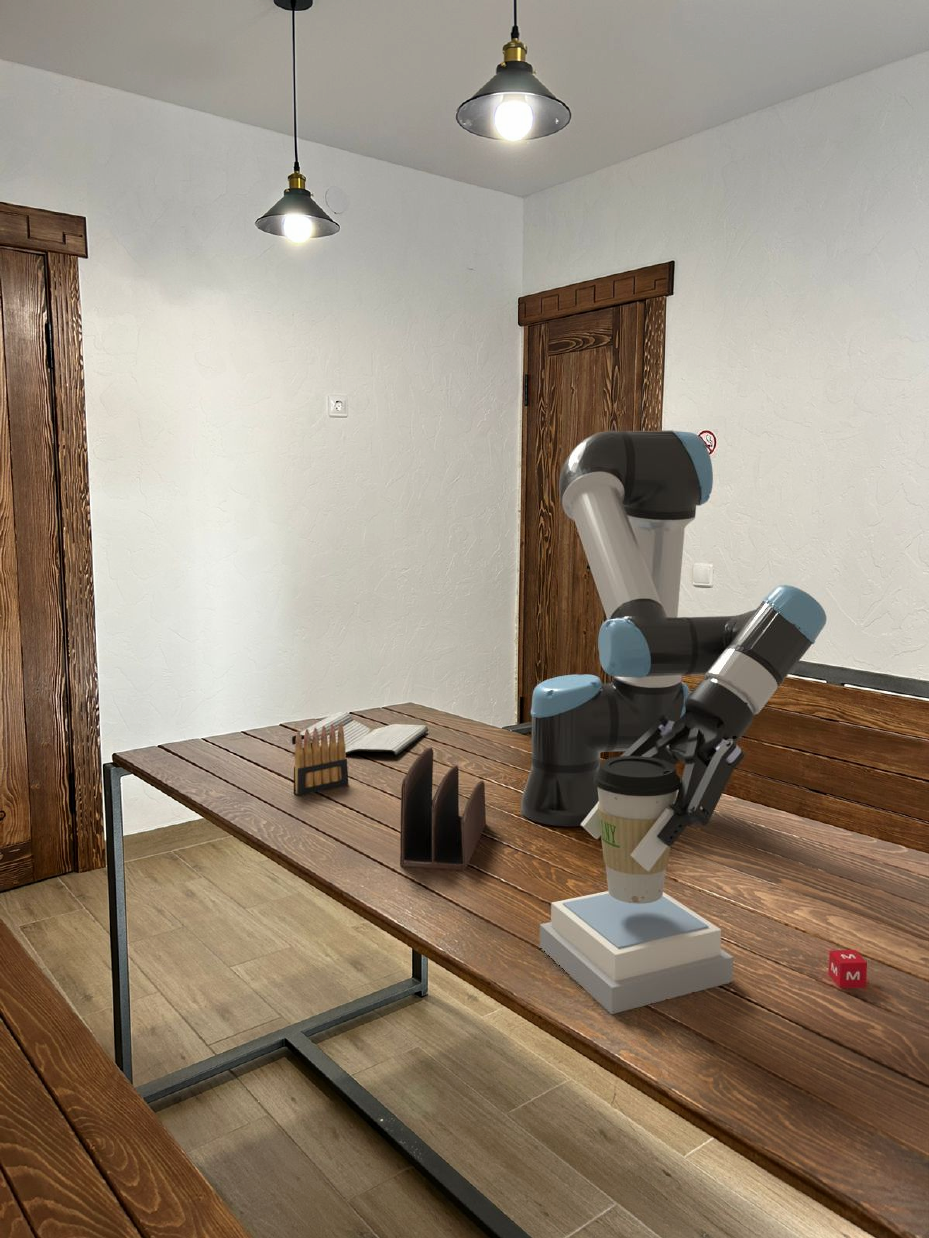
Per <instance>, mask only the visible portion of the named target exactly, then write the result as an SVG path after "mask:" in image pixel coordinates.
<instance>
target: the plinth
mask: <svg viewBox="0 0 929 1238" xmlns="http://www.w3.org/2000/svg"><path fill="white" fill-rule="evenodd" d="M550 918H551V919H550V921H549V922H544V923H540V924H539V948H542V949H541V951H542V952H544V951H545V952H544V954H546V955H547V956H548V955H549V956H550V957H549V956H548V957H549V958H550V959H551V958H552V959H553V960H554V961H555V962H554V961H553V960H552V959H551V960H552V961H553V962H554V963H556V965H557V966H559V965H560V966H559V967H560V968H561V969H562V968H563V969H564V970H565V971H564V970H563V969H562V970H563V971H564V972H565V973H566V972H567V973H568V974H569V976H570V978H571V979H572V980H574V981H575V980H576V981H575V982H576V983H577V982H578V983H577V984H578V985H579V986H580V985H581V986H582V987H583V988H582V987H581V986H580V987H581V988H582V989H583V990H585V991H586V992H587V993H588V994H589V995H590V996H591V997H592V998H593V999H595V1001H596V1002H597V1003H598V1004H600V1005H601V1006H602V1007H603V1008H604V1010H606V1011H607V1012H608V1013H609V1014H610V1015H614V1014H619V1013H622V1012H626V1011H629V1010H633V1009H636V1008H641V1007H644V1006H649V1005H651V1003H652V1004H655V1003H660V1002H663V1001H667V1000H670V999H674V998H677V997H678V996H679V997H681V996H682V997H683V996H685V995H689V994H693V993H692V992H694V993H696V992H700V991H701V992H702V991H704V990H708V989H713V988H717V987H720V986H723V984H724V985H726V984H730V982H731V983H733V981H734V980H733V978H734V977H733V976H734V971H733V970H734V956H732V955H731V954H730V953H728V952H726V951H725V950H724V949H723V948H722V929H721V928H719V927H718V926H716V925H715V924H713V923H712V922H710V921H708V920H707V919H706V918H704V917H702V916H701V915H699V914H698V913H697V912H695V911H693V910H691V908H689V907H687V906H686V905H684V904H682V903H681V902H680V901H678V900H676V898H673V896H671V895H669V894H667V893H666V892H664V891H663V895H662V897H661V898H660V899H659V900H657V901H655V902H651V903H645V904H635V903H627V902H623V901H620V900H617V899H615V898H613V897H612V896H611V895H610V894H609V892H608V890H607V891H602V892H597V893H593V894H592V893H591V894H587V895H583V896H578V897H577V896H576V897H573V898H568V899H563V900H559V901H552V902H551V904H550ZM567 973H566V974H567ZM568 974H567V975H568ZM666 999H667V1000H666Z"/></svg>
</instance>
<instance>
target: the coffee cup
mask: <svg viewBox="0 0 929 1238" xmlns="http://www.w3.org/2000/svg"><path fill="white" fill-rule="evenodd" d="M593 782H594V784H595V785H596V786H597V787H598V796H599V804H598V811H599V820H600V829H601V836H600V838H601V847H602V856H603V857H602V858H603V863H604V865H605V871H606V882H607V891H608V892H609V894H610V895H611V896H612V897H613V898H615V899H617V900H620V901H623V902H627V903H635V904H645V903H651V902H655V901H657V900H659V899H660V898H661V897H662V895H663V892H664V886H665V880H666V874H667V873H666V872H667V868H668V866H669V860H670V853H671V848H672V845H671V846H670V847H669V846H668V847H667V848H666V849H665V851H664V852H663V853H662V855H661V856H660V857H659V859H658V860H657V861H656V863H655V864H654V865H653V866H652V868H651V869H650V870H649V871H647V870H645V869H644V868H643V867H642V866H641V865H640V864H639V863H638V862H637V861H636V860H635V859H634V858H633V857H632V856H631V853H632V852H633V851H634V850H635V848H636V847H637V846H638V844H639V843H640V842H641V840H642V839H643V838H644V837H645V835H646V834H647V833H648V831H649V830H650V829H651V827H652V826H653V825H654V824H655V822H656V821H657V820H658V818H659V817H660V816H661V814H662V813H663V812H664V811H665V809H666V808H667V809H669V810H671V811H672V812H673V813H675V812H674V811H673V810H672V809H671V808H670V804H671V805H672V804H675V801H676V798H677V794H678V790H679V787H680V783H681V778H680V776H679V775H678V774H677V769H676V766H675V765H673V764H671V763H670V762H667V761H665V760H661V759H657V758H652V757H643V756H621V755H620V756H616V757H615V756H614V757H610V758H609V757H608V758H606V759H604V760H602V761H600V766H599V769H598V771H597V772H596V773H595V776H594V781H593Z"/></svg>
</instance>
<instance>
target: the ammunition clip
mask: <svg viewBox="0 0 929 1238" xmlns="http://www.w3.org/2000/svg"><path fill="white" fill-rule="evenodd" d="M305 729H306V731H305V736H304V739H303V740H302V738H301V734H300V732H301V731H300V730H299V729H298V730H297V732H296V734H295V735H296V744H295V747H294V749H295V750H294V767H293V794H295V795H296V796H299V797H300V796H305V795H309V794H314V793H318V792H322V791H328V790H331V789H337V788H341V787H344V786H349V785H350V784H349V771H348V770H349V769H348V758H347V757H346V756H347V754H346V750H345V741H344V730H343V726H342V724H341V723H340V724H339V727H338V742H337V744H336V734H335V729H334V726H333V724H332V725H331V727H330V734H329V748H328V741H327V732H326V728H325V726H323V728H322V732H321V746H319V735H318V731H317V728H316V727H315V728H314V731H313V743H312V741H311V740H310V734H309V731H308V729H307V728H305Z"/></svg>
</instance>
